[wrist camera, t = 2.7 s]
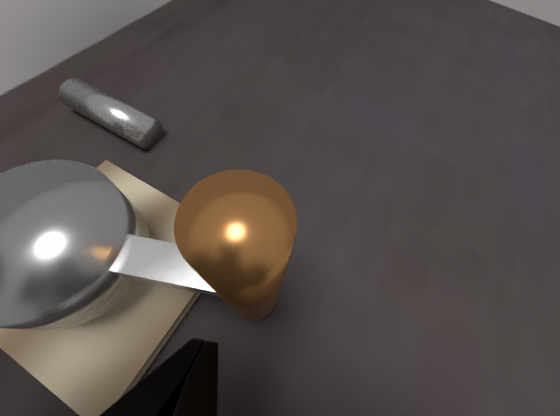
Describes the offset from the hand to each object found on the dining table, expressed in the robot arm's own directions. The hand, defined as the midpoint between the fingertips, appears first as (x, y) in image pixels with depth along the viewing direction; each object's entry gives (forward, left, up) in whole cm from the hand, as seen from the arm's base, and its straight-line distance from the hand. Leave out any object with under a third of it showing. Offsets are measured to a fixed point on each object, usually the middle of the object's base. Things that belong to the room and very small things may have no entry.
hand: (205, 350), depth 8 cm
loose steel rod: (+17, -9, -7) cm, 21 cm away
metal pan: (+6, -1, -5) cm, 8 cm away
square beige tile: (+9, 0, -7) cm, 11 cm away
